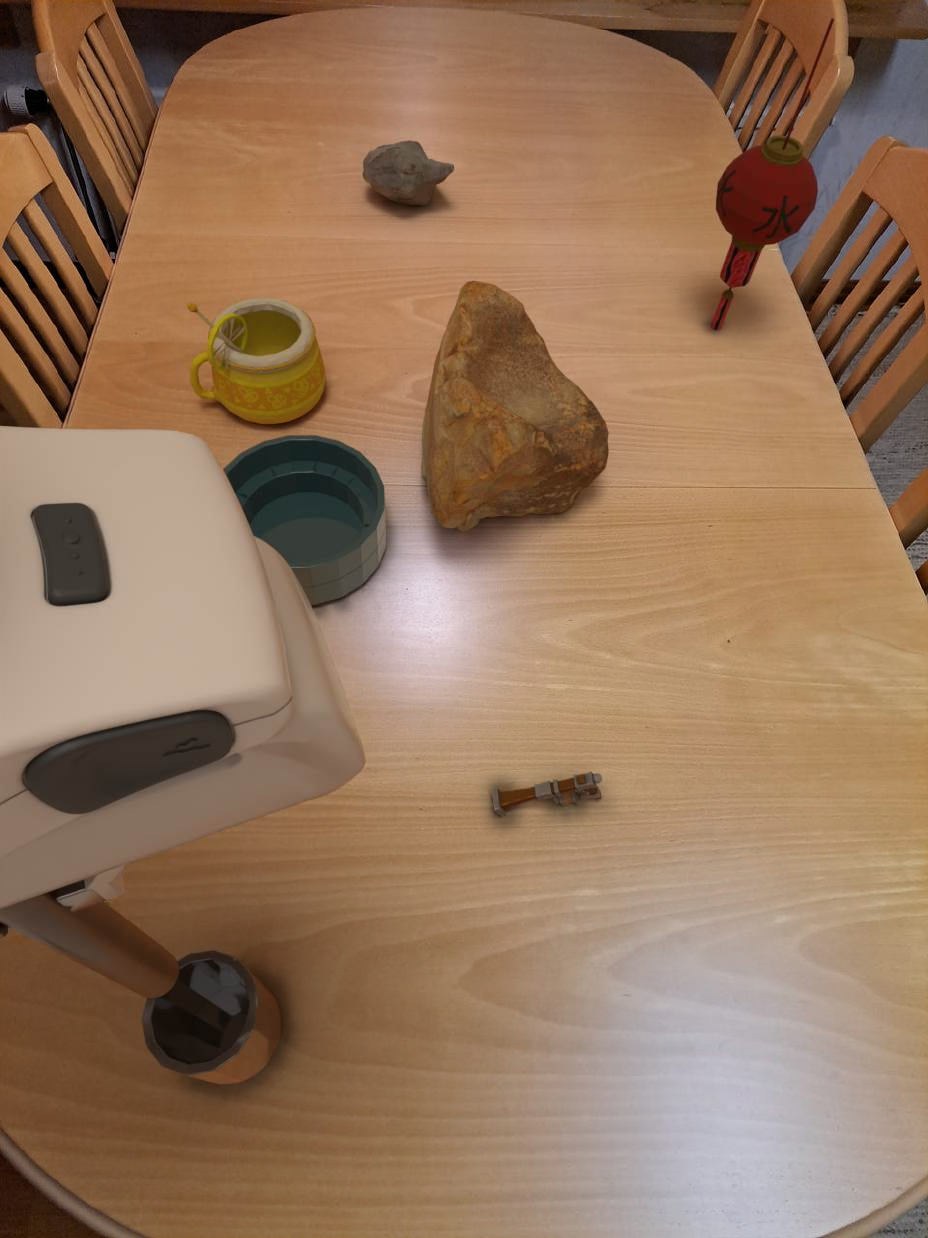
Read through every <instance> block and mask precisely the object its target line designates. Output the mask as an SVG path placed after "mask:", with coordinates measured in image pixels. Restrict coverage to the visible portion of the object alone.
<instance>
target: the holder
mask: <svg viewBox="0 0 928 1238" xmlns="http://www.w3.org/2000/svg"><path fill="white" fill-rule="evenodd" d="M177 961H178V965H179V974H178V978H177V981H176V983H175V984H174V986H173V987H172V988H171V990H170V991H168V992H167V993H166V994H164V995H163V996H160V997H157V998H146V1000H145V1003H144V1008H143V1012H142V1016H141V1026H142V1030H143V1038H144V1043H145V1047H146V1048H147V1050H148V1051H149V1052H150V1054H151V1055H152V1056H153V1058H154V1059H155V1060H156V1061H157V1063H158V1064H159V1065H160V1066H161V1067H162V1068H164V1069H166V1070H169V1071H171V1072H175V1073H178V1074H180V1075H183V1076H186V1077H190V1078H194V1079H197V1080H202V1081H206V1082H209V1083H214V1084H216V1085H217V1084H218V1085H234V1084H237V1083H242V1082H244V1081H247V1080H248V1079H250V1078H253V1077H254V1076H255V1075H257V1074H258V1073H260V1072H261V1071H262V1070H263V1069H264V1068H265V1067H266V1066H267V1064H268V1063H269V1062H270V1060H272V1058H273V1056H274V1054H275V1053H276V1050H277V1049H278V1046H279V1043H280V1041H281V1036H282V1030H283V1029H282V1028H283V1027H282V1026H283V1023H282V1013H281V1010H280V1006H279V1004H278V1001H277V998H276V997H275V996H274V995H273V994H272V992H270V991H269V989H268V988H267V987H266V986H265V985H264V983H263V982H261V980H260V979H258V978H257V977H256V976H255V974H254V973H253V972H251V970H250V969H248V968H247V966H246V965H245V964H244V963H243V962H242V961H241V960H240V959H239V958H237V957H236V956H233V955H229V954H227V953H224V952H221V951H219V950H214V949H210V950H203V951H197V952H190V953H187V954H186V955H184V956H183V957H181V958H180V959H177Z"/></svg>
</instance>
